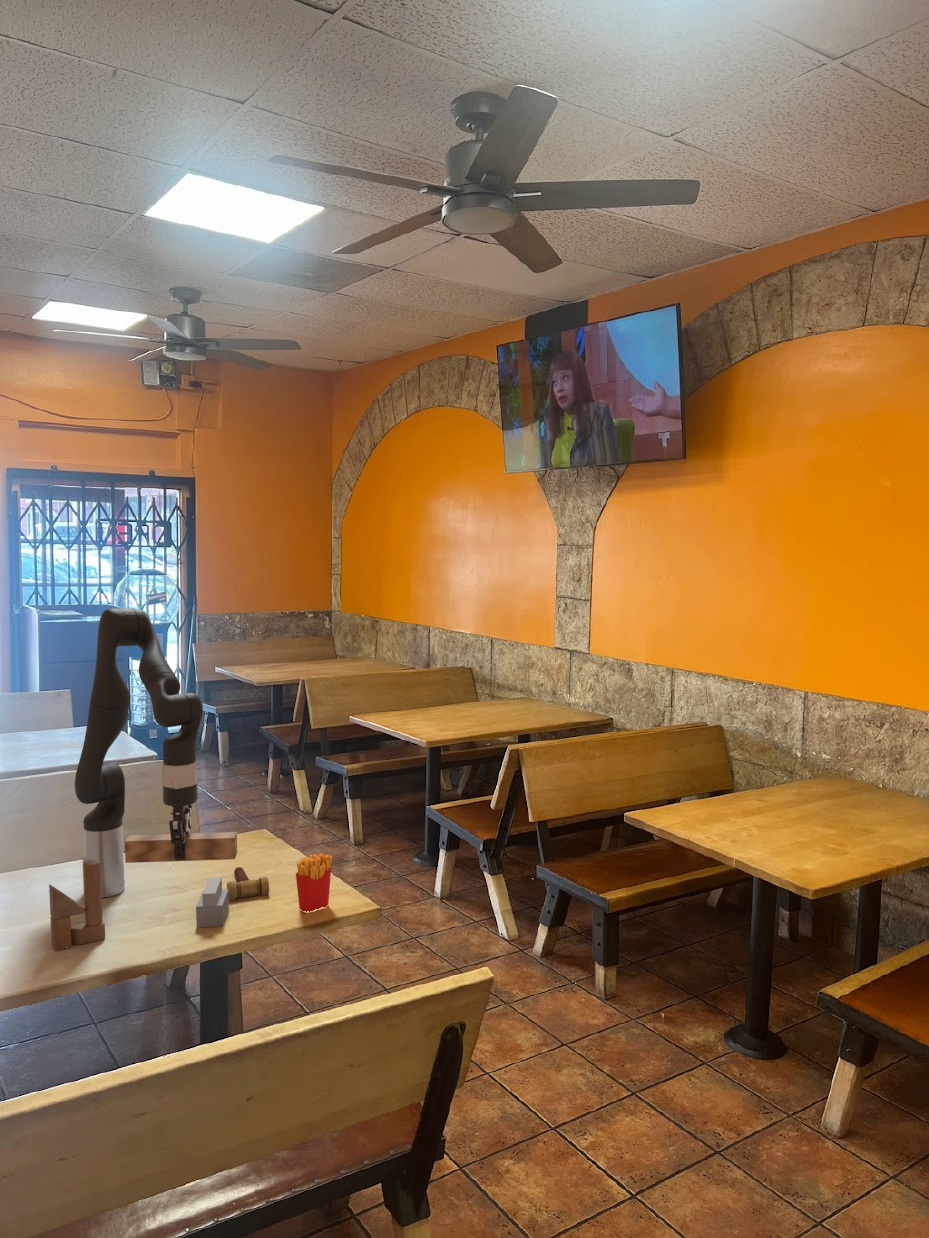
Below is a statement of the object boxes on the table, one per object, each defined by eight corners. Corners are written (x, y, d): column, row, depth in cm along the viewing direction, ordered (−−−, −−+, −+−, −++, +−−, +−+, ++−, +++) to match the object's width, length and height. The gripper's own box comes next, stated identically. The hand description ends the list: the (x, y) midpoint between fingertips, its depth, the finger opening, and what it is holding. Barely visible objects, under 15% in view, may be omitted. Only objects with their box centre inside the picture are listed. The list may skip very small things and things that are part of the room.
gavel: (218, 862, 248) (255, 857, 251) (218, 879, 248) (255, 874, 252) (228, 885, 228) (269, 879, 232) (229, 903, 228) (269, 897, 232)
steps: (196, 927, 214) (195, 894, 213) (203, 909, 224) (202, 878, 223) (222, 925, 214) (222, 892, 214) (228, 908, 224) (228, 877, 223)
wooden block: (51, 945, 204) (48, 867, 203) (101, 933, 210) (98, 857, 209) (54, 951, 201) (51, 872, 200) (105, 939, 207) (102, 862, 206)
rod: (125, 862, 204) (124, 841, 204) (129, 856, 208) (129, 835, 208) (234, 859, 207) (234, 837, 207) (237, 853, 211) (236, 832, 211)
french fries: (302, 915, 220) (301, 863, 219) (294, 909, 224) (293, 858, 222) (335, 906, 226) (334, 854, 225) (327, 900, 229) (326, 850, 228)
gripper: (169, 773, 213) (171, 845, 214) (156, 791, 199) (158, 867, 200) (202, 773, 214) (204, 844, 215) (191, 790, 200) (193, 866, 201)
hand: (181, 855), depth 208 cm, fingers closed on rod, 4 cm apart
